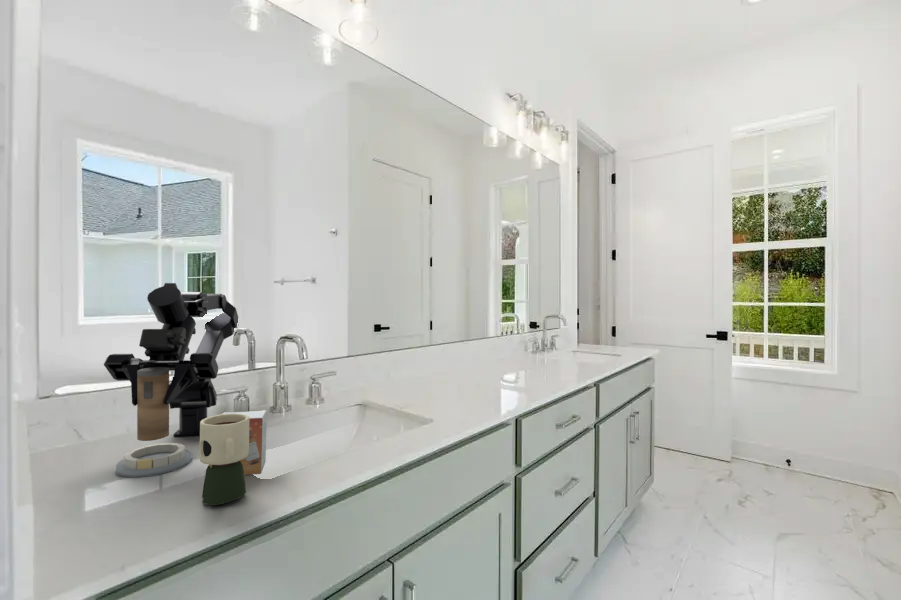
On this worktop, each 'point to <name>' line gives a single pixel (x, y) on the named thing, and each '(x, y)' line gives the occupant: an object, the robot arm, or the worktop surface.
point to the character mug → (224, 456)
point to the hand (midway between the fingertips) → (150, 404)
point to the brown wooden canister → (152, 403)
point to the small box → (255, 442)
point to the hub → (153, 460)
